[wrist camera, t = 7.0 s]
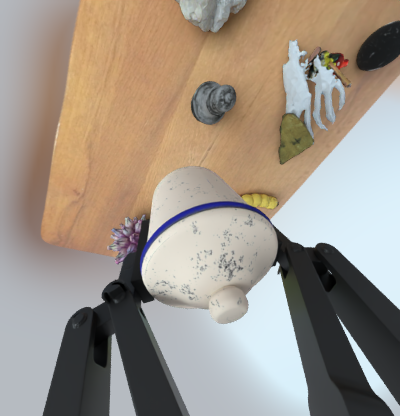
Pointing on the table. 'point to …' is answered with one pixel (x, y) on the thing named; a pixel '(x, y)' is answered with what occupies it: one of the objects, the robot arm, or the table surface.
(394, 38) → the billiard ball
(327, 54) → the toy figure
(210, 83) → the grey carved upright piece
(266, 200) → the yellow segmented curved bar
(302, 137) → the stone
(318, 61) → the decorative object
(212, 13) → the grey ridged fossil rock
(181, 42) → the table surface
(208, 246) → the teacup with lid
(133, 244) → the flower
